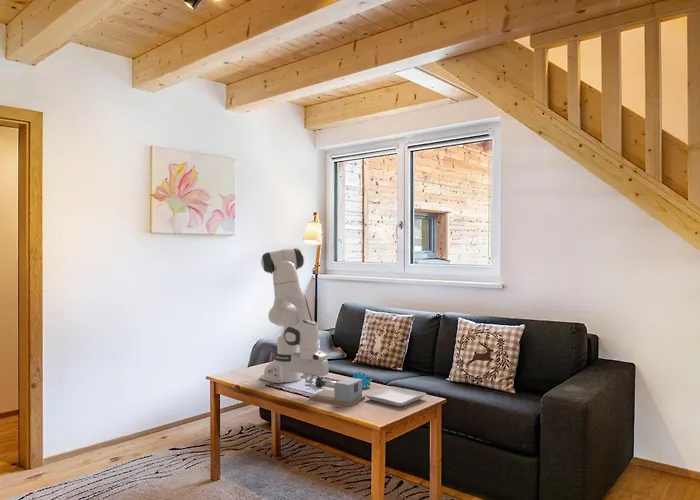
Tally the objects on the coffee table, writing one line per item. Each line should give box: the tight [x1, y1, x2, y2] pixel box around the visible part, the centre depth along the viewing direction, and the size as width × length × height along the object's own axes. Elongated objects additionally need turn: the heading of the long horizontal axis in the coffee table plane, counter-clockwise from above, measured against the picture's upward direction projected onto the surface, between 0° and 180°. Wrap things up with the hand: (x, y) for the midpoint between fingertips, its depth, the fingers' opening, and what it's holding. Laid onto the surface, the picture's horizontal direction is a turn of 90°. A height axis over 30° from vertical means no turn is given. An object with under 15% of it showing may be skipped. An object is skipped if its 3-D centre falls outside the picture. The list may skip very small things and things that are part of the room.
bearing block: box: [308, 376, 366, 407], centre depth 246 cm, size 22×14×9 cm, turn 61°
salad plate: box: [364, 385, 427, 407], centre depth 246 cm, size 21×21×3 cm
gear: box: [352, 371, 373, 391], centre depth 268 cm, size 11×6×10 cm
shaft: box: [314, 376, 336, 389], centre depth 248 cm, size 14×5×5 cm, turn 61°
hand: (308, 382), depth 254 cm, fingers closed
